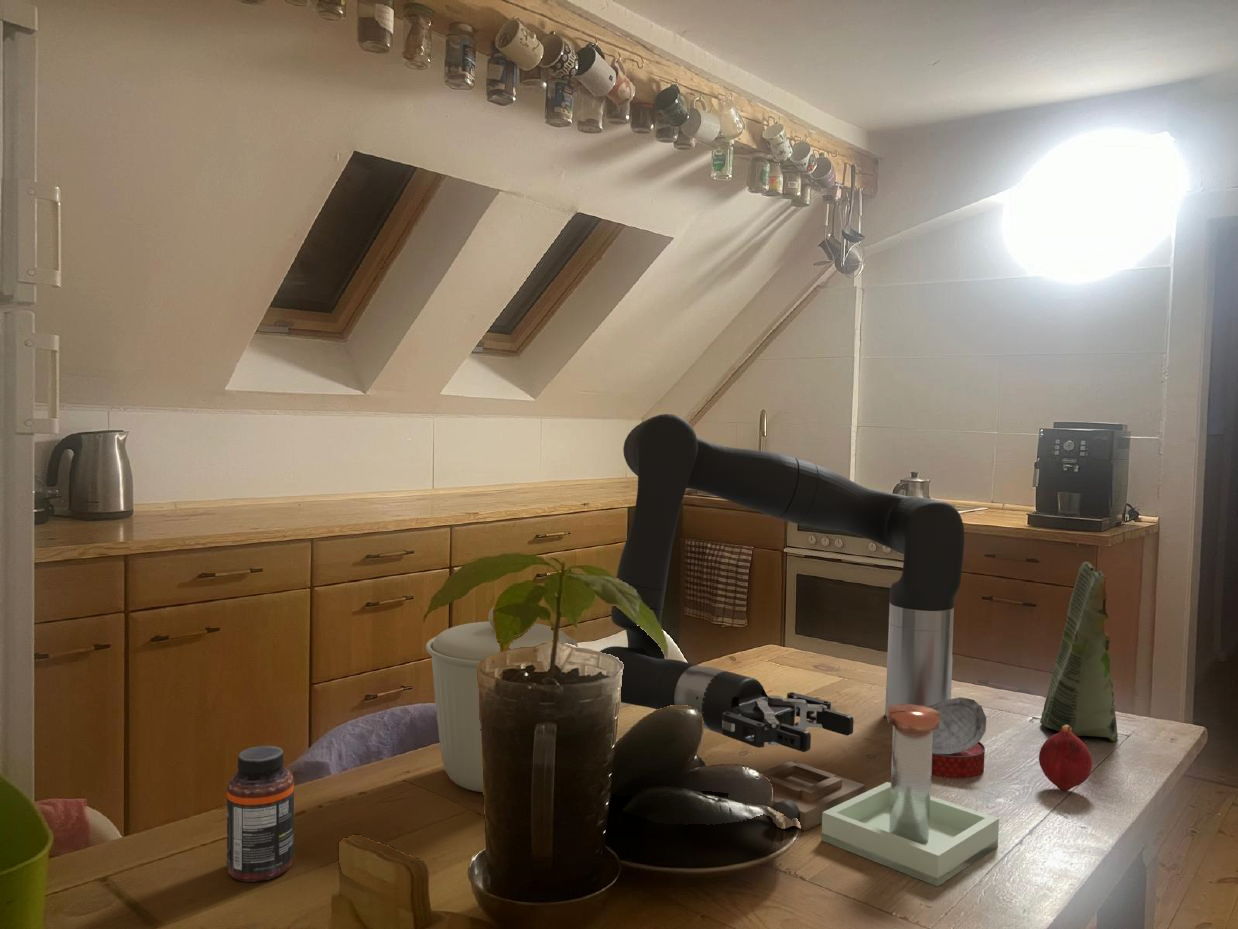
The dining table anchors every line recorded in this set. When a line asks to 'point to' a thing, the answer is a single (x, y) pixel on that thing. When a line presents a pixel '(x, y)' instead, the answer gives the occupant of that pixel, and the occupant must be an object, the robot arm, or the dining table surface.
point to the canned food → (958, 739)
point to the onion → (1065, 759)
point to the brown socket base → (808, 791)
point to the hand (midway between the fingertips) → (831, 734)
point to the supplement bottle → (260, 816)
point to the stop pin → (911, 770)
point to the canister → (468, 691)
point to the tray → (947, 852)
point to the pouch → (1083, 665)
